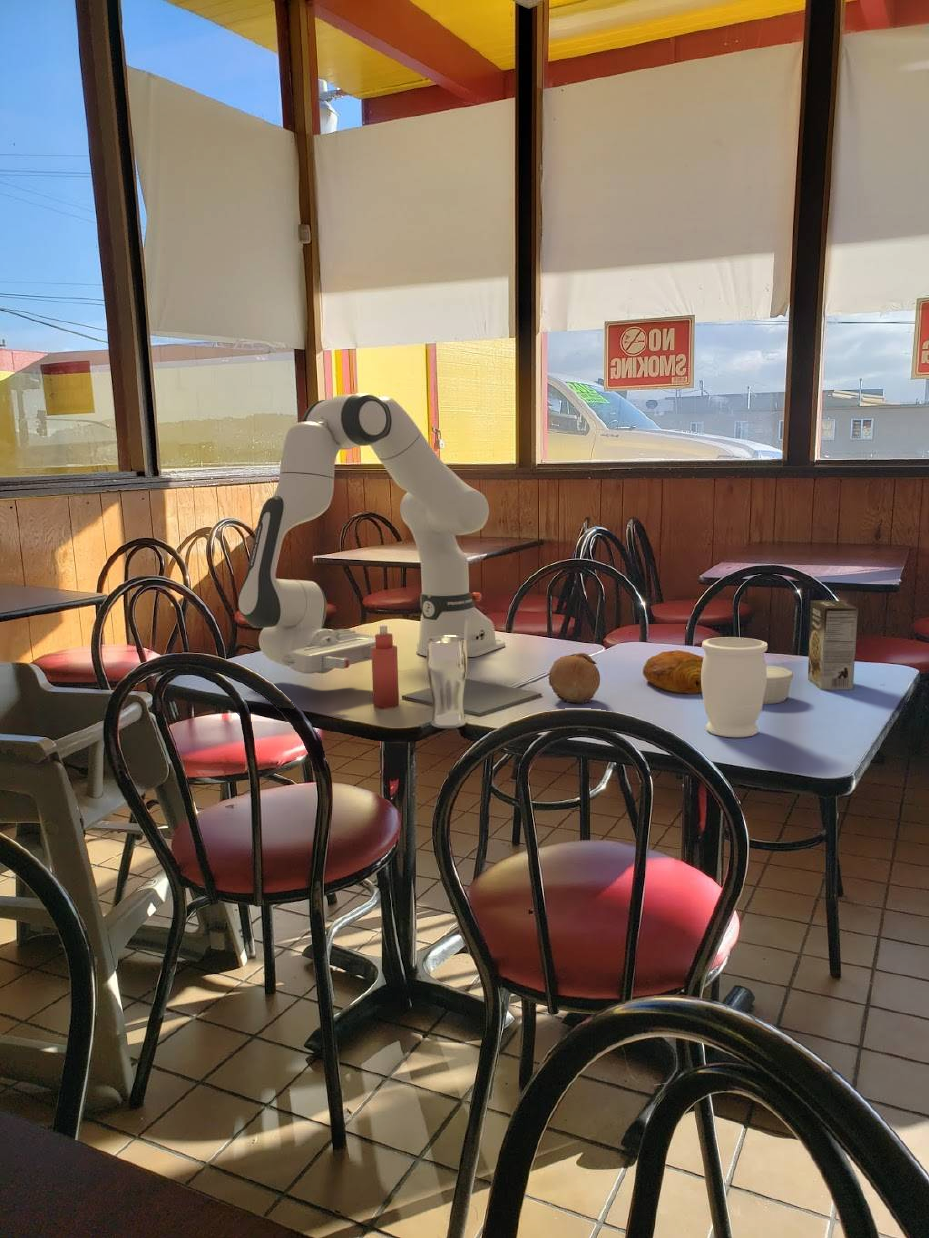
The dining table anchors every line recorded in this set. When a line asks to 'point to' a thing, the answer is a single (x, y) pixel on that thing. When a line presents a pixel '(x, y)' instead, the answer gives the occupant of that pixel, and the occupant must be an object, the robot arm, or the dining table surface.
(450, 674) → the beer glass
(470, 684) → the mat
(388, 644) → the bottle
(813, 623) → the coffee box
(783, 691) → the ramekin
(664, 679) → the croissant
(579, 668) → the brown round fruit
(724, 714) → the jar
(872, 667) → the dining table surface
